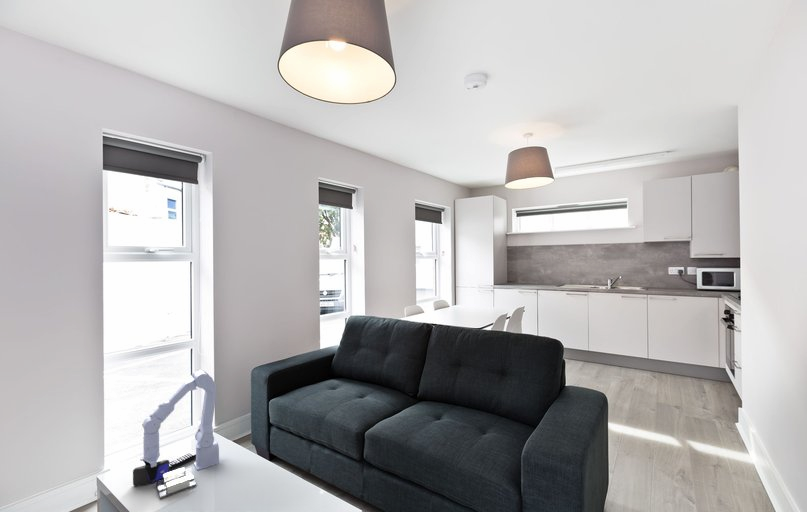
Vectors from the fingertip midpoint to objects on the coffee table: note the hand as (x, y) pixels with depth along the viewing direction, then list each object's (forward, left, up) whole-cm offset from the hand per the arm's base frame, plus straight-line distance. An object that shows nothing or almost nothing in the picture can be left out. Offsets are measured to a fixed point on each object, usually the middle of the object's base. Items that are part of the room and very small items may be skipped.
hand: (151, 476), depth 163 cm
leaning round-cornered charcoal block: (0, 0, -3) cm, 3 cm away
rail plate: (-8, +11, -3) cm, 14 cm away
